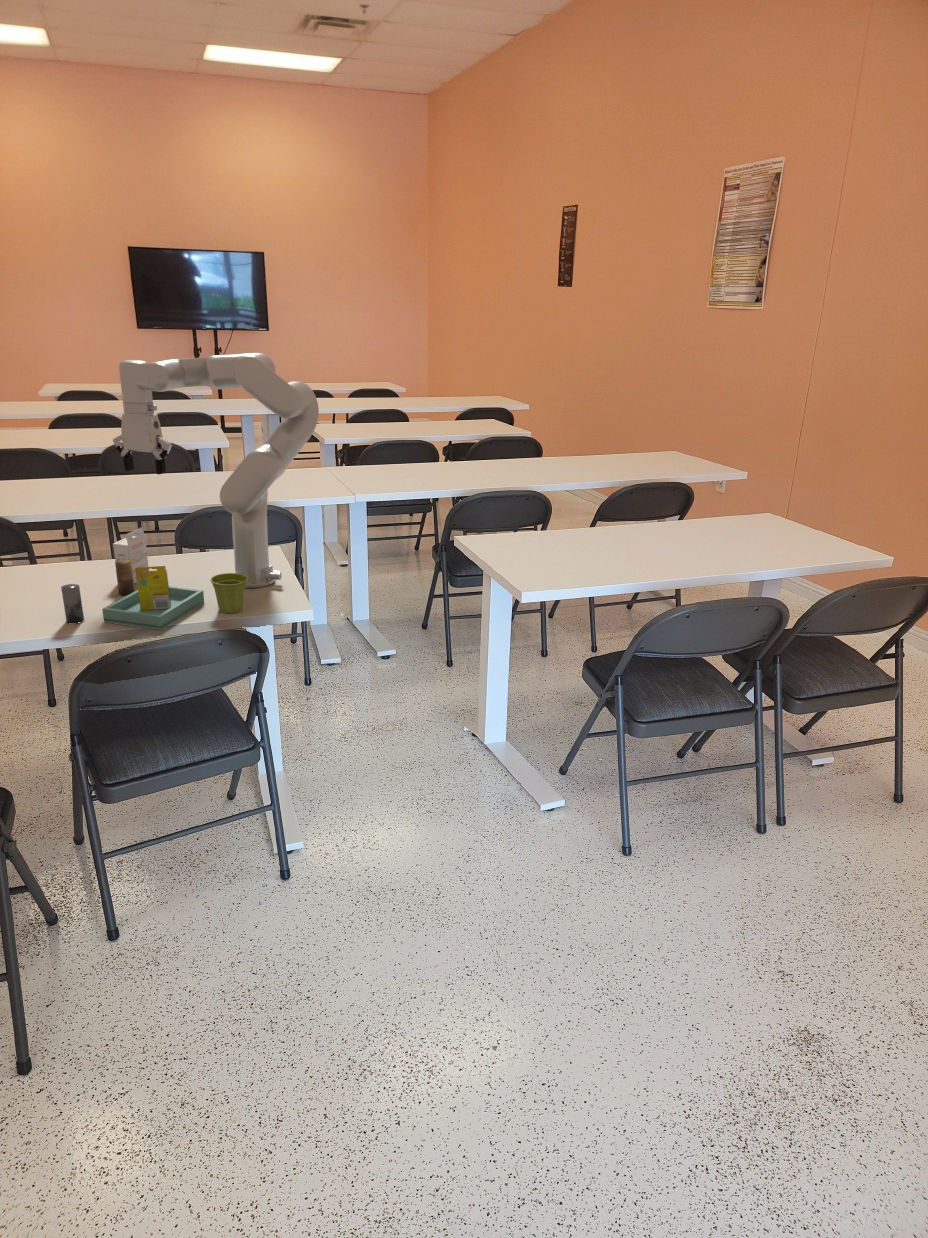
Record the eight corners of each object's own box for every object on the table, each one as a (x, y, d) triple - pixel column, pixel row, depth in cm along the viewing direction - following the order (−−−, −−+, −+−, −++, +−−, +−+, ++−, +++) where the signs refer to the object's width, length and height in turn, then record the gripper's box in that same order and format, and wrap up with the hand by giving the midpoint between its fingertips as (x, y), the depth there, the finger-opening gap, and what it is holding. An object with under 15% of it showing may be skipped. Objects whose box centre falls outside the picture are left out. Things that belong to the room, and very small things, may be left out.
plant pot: (233, 600, 216) (231, 570, 212) (257, 609, 211) (255, 578, 208) (205, 610, 209) (202, 578, 205) (228, 619, 204) (226, 587, 200)
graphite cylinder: (87, 618, 200) (82, 585, 196) (77, 624, 196) (71, 590, 193) (73, 616, 200) (68, 583, 197) (62, 622, 197) (57, 588, 193)
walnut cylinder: (137, 591, 219) (134, 560, 215) (128, 596, 215) (125, 564, 212) (124, 590, 219) (121, 558, 216) (115, 594, 216) (111, 563, 212)
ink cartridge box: (134, 573, 232) (128, 524, 227) (150, 575, 231) (144, 526, 226) (117, 583, 224) (110, 532, 219) (133, 585, 223) (127, 534, 218)
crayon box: (171, 605, 208) (166, 562, 204) (170, 609, 205) (166, 566, 201) (140, 607, 206) (135, 564, 201) (140, 611, 203) (135, 567, 199)
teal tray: (204, 602, 213) (203, 590, 212) (161, 630, 195) (160, 616, 194) (150, 595, 216) (149, 583, 215) (103, 622, 198) (102, 608, 197)
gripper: (175, 409, 215) (181, 472, 222) (118, 404, 219) (125, 466, 225) (159, 412, 209) (165, 477, 215) (101, 407, 212) (109, 471, 218)
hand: (145, 471), depth 220 cm, fingers open, 9 cm apart
